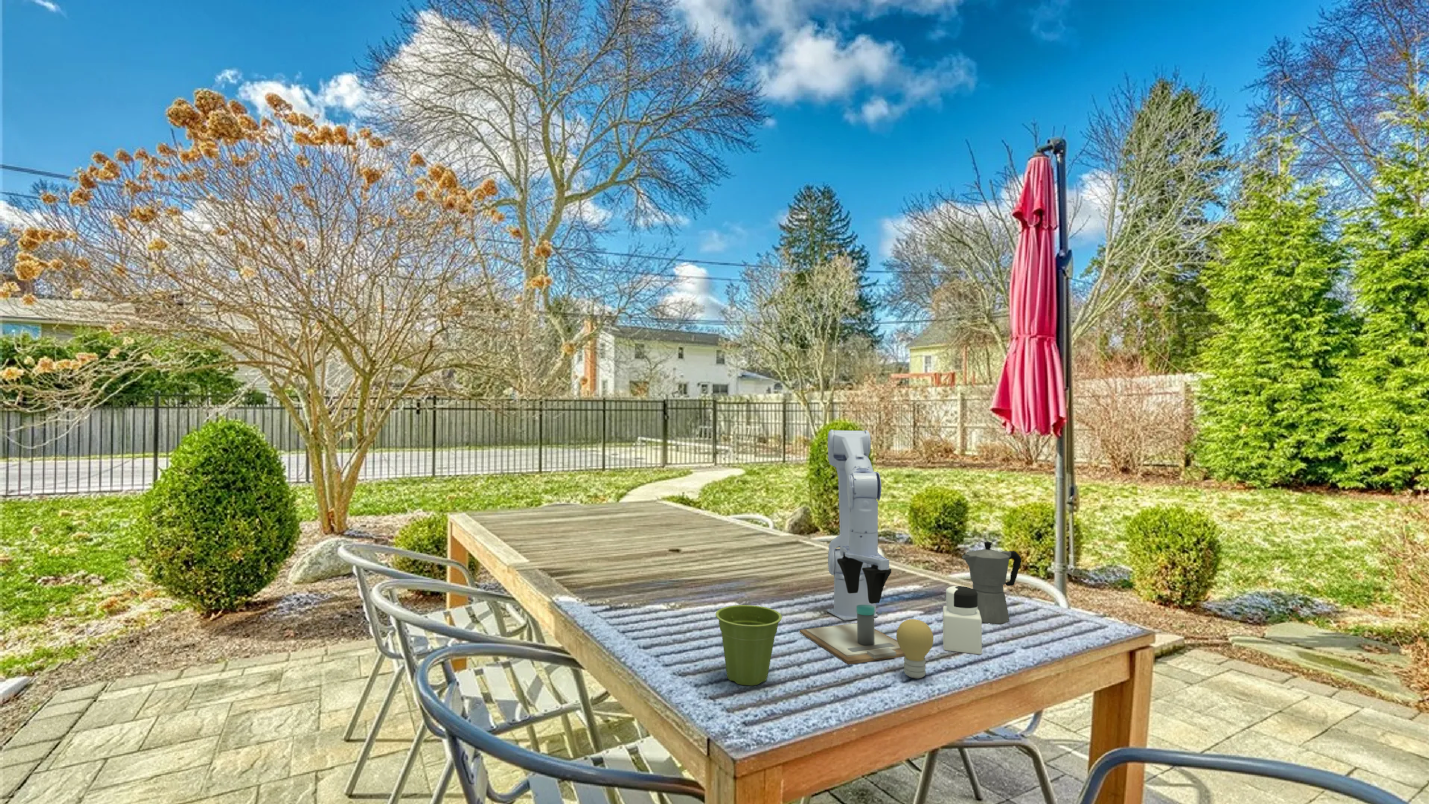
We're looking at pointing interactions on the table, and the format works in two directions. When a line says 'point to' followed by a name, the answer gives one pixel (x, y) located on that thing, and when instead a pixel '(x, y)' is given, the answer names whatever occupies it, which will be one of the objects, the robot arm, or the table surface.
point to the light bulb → (914, 646)
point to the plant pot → (748, 641)
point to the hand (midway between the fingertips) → (863, 597)
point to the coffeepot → (992, 581)
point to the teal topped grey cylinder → (865, 625)
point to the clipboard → (853, 644)
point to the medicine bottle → (962, 621)
